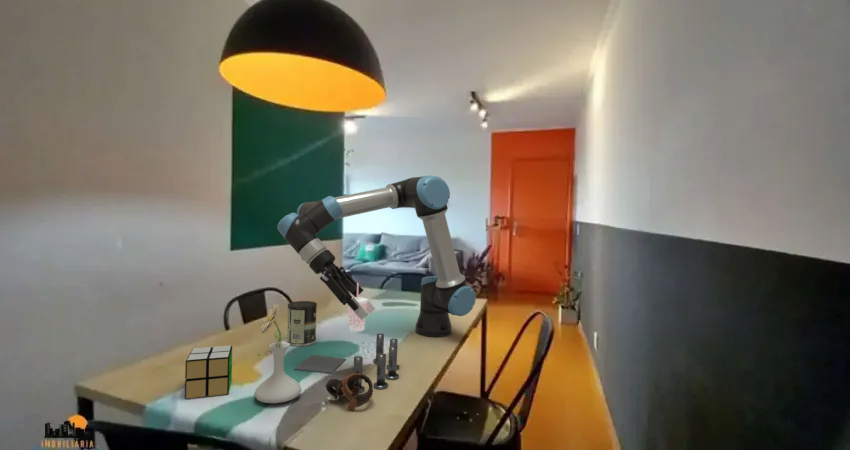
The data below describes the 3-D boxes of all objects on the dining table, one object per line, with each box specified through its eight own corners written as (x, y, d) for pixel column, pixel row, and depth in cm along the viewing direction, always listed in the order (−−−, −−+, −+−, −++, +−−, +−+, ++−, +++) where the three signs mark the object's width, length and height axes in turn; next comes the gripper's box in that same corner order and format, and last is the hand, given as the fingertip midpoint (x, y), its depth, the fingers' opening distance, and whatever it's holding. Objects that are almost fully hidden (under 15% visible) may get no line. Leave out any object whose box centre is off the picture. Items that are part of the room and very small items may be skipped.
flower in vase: (262, 388, 112) (264, 296, 111) (305, 388, 113) (307, 297, 112) (244, 411, 99) (247, 307, 98) (293, 411, 100) (296, 308, 99)
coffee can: (314, 336, 159) (315, 300, 158) (317, 345, 149) (318, 306, 149) (285, 338, 155) (286, 301, 154) (287, 347, 145) (288, 307, 145)
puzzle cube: (191, 384, 113) (192, 347, 113) (231, 380, 117) (232, 345, 117) (184, 400, 104) (185, 360, 104) (228, 395, 108) (229, 357, 107)
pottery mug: (368, 393, 113) (377, 373, 109) (364, 424, 104) (374, 403, 101) (324, 384, 110) (332, 362, 107) (317, 415, 102) (325, 393, 98)
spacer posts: (375, 359, 137) (376, 332, 137) (407, 362, 135) (408, 335, 135) (347, 392, 111) (348, 359, 111) (387, 397, 110) (388, 363, 109)
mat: (311, 356, 138) (311, 355, 138) (346, 359, 136) (346, 358, 136) (294, 369, 126) (294, 368, 126) (331, 373, 124) (331, 372, 124)
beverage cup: (371, 328, 125) (372, 282, 125) (359, 333, 120) (360, 285, 119) (354, 325, 128) (355, 280, 128) (342, 330, 123) (343, 283, 122)
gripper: (322, 261, 135) (369, 314, 133) (294, 269, 116) (349, 331, 114) (338, 245, 134) (386, 299, 132) (312, 251, 115) (368, 313, 113)
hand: (368, 314), depth 123 cm, fingers closed on beverage cup, 6 cm apart
